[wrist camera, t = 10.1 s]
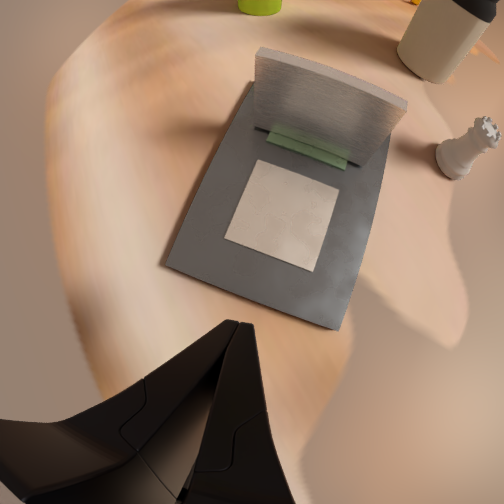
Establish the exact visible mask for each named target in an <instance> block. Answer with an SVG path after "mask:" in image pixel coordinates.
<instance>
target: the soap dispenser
mask: <svg viewBox="0 0 504 504" xmlns="http://www.w3.org/2000/svg"><path fill="white" fill-rule="evenodd" d="M281 4H282V0H238V8H239V9H240V10H241V11H242V12H244V13H246V14H250V15H257V16H266V15H272V14H275V13H277V12H279V11H280V10H281Z"/></svg>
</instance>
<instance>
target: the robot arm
mask: <svg viewBox="0 0 504 504" xmlns="http://www.w3.org/2000/svg"><path fill="white" fill-rule="evenodd" d="M0 504H296V503H295V501H294V499H293V496H292V494H291V491H290V489H289V486H288V483H287V480H286V478H285V475H284V472H283V469H282V466H281V464H280V461H279V458H278V455H277V452H276V449H275V445H274V442H273V438H272V434H271V429H270V424H269V418H268V412H267V407H266V400H265V394H264V388H263V381H262V375H261V369H260V362H259V356H258V350H257V343H256V337H255V330H254V325H253V324H251V323H245V322H240V323H239V322H238V321H234V320H229V319H227V320H224V321H223V322H222V323H220V324H219V325H217V326H216V327H215V328H213V329H212V330H211V331H209V332H208V333H206V334H205V335H204V336H202V337H201V338H199V339H198V340H197V341H195V342H194V343H192V344H191V345H190V346H188V347H187V348H185V349H184V350H183V351H181V352H180V353H178V354H177V355H175V356H174V357H173V358H171V359H170V360H168V361H167V362H165V363H164V364H163V365H161V366H160V367H158V368H157V369H155V370H154V371H152V372H151V373H149V374H148V375H147V376H145V377H144V379H143V378H142V379H140V380H139V381H137V382H136V383H135V384H133V385H131V386H130V387H128V388H127V389H125V390H123V391H122V392H120V393H119V394H117V395H115V396H113V397H111V398H109V399H107V400H106V401H104V402H102V403H100V404H98V405H96V406H94V407H92V408H89V409H87V410H85V411H83V412H81V413H79V414H77V415H75V416H73V417H71V418H68V419H66V420H63V421H59V422H53V423H37V422H23V421H12V420H3V419H0Z"/></svg>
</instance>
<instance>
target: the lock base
mask: <svg viewBox="0 0 504 504" xmlns="http://www.w3.org/2000/svg"><path fill="white" fill-rule="evenodd" d="M254 84H255V82H254V83H253V85H252V87H251V89H250V90H249V92H248V94H247V96H246V97H245V99H244V101H243V103H242V105H241V106H240V108H239V110H238V112H237V114H236V116H235V117H234V119H233V121H232V123H231V125H230V127H229V129H228V130H227V132H226V134H225V136H224V138H223V140H222V142H221V144H220V146H219V148H218V150H217V152H216V154H215V156H214V158H213V160H212V162H211V164H210V166H209V168H208V170H207V172H206V174H205V176H204V178H203V180H202V182H201V184H200V187H199V189H198V191H197V193H196V195H195V197H194V199H193V202H192V204H191V206H190V208H189V210H188V213H187V215H186V217H185V219H184V222H183V224H182V226H181V228H180V231H179V233H178V235H177V238H176V240H175V242H174V245H173V247H172V249H171V252H170V254H169V257H168V259H167V261H166V264H165V265H166V266H168V267H171V268H173V269H175V270H178V271H180V272H183V273H185V274H187V275H190V276H192V277H195V278H197V279H199V280H202V281H204V282H207V283H209V284H212V285H214V286H217V287H219V288H222V289H224V290H227V291H229V292H232V293H234V294H237V295H240V296H242V297H245V298H247V299H250V300H253V301H255V302H258V303H260V304H263V305H266V306H268V307H271V308H274V309H276V310H279V311H282V312H285V313H287V314H290V315H293V316H296V317H298V318H301V319H304V320H307V321H309V322H312V323H315V324H318V325H321V326H324V327H327V328H329V329H332V330H335V331H339V329H340V326H341V323H342V320H343V318H344V315H345V312H346V309H347V306H348V303H349V300H350V297H351V294H352V291H353V288H354V285H355V282H356V279H357V275H358V272H359V269H360V266H361V262H362V259H363V255H364V252H365V248H366V245H367V241H368V237H369V234H370V230H371V226H372V222H373V218H374V214H375V210H376V206H377V201H378V197H379V193H380V188H381V183H382V179H383V174H384V169H385V164H386V158H387V153H388V147H389V141H390V135H391V133H390V134H389V135H388V136H387V138H386V139H385V140H384V142H383V143H382V144H381V145H380V147H379V148H378V149H377V151H376V152H375V153H374V154H373V156H372V157H371V158H370V159H369V161H368V162H367V163H366V164H365V166H364V167H362V166H360V165H358V164H356V163H353V162H351V161H349V160H346V159H344V158H342V157H339V156H337V155H334V154H332V153H329V152H327V151H324V150H322V149H319V148H316V147H314V146H311V145H309V144H306V143H303V142H300V141H298V140H295V139H292V138H289V137H286V136H283V135H281V134H278V133H275V132H272V131H269V130H265V129H262V128H259V127H256V126H254Z"/></svg>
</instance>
